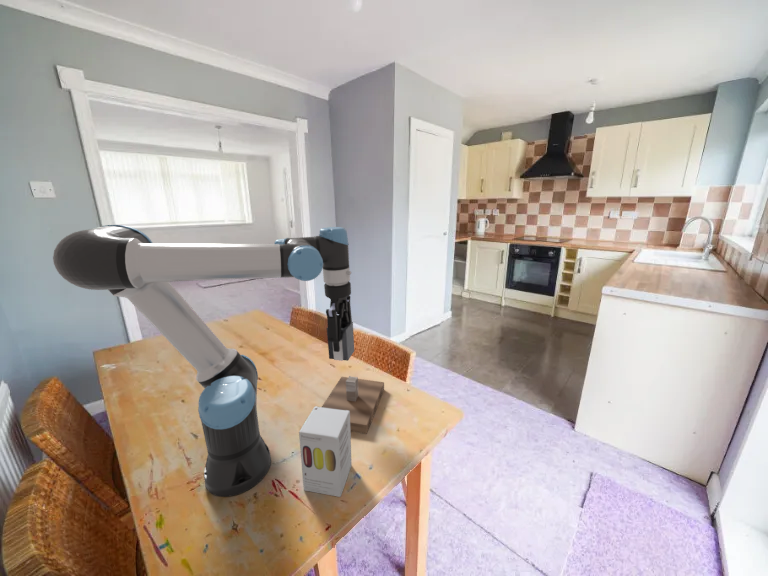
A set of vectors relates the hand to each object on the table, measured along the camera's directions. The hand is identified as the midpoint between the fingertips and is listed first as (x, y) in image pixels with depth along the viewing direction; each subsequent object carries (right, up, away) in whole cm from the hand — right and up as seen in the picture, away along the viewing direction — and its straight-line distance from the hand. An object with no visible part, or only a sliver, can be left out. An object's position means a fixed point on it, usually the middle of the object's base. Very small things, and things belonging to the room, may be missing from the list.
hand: (342, 354), depth 95 cm
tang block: (+2, -19, +7) cm, 20 cm away
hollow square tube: (0, 0, 0) cm, 0 cm away
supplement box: (-1, -26, -19) cm, 33 cm away
